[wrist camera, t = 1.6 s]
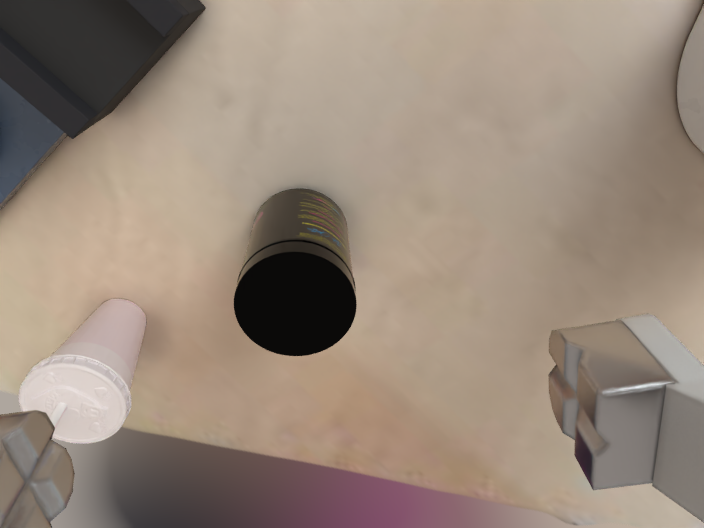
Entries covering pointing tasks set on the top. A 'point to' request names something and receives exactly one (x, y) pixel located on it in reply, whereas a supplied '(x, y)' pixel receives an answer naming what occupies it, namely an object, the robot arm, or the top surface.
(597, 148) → the top surface
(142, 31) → the inspection stand
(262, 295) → the supplement container
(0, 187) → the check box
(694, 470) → the robot arm
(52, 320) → the top surface
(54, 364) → the smoothie
